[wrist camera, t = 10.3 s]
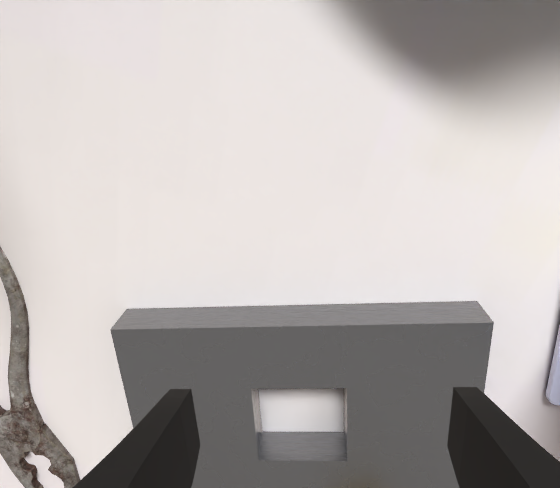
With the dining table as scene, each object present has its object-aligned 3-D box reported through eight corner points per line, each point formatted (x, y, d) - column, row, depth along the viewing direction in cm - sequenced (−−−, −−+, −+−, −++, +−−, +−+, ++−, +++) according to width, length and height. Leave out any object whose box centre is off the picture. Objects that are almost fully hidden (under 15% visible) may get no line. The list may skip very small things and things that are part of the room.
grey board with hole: (477, 301, 21) (493, 322, 19) (455, 478, 25) (467, 510, 23) (126, 308, 22) (110, 329, 21) (162, 476, 27) (151, 505, 25)
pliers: (-55, 185, 20) (166, 473, 26) (-41, 181, 21) (171, 461, 27) (-189, 264, 22) (44, 514, 28) (-172, 258, 23) (52, 502, 29)
